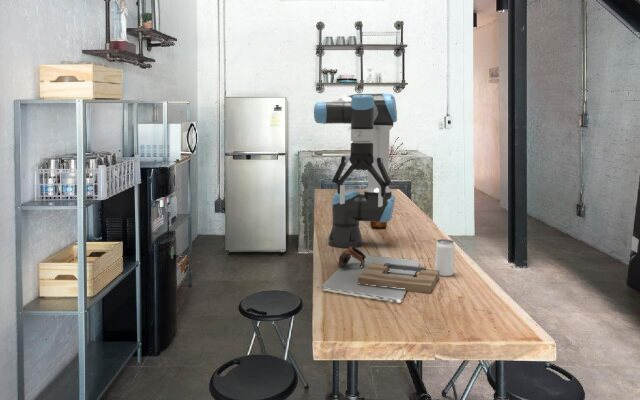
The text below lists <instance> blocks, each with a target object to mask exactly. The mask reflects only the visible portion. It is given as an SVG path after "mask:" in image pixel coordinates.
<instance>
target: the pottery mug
mask: <svg viewBox="0 0 640 400" xmlns="http://www.w3.org/2000/svg"><path fill="white" fill-rule="evenodd" d="M351 258H354V259H355V260H357V261H359V262H360V264H359V268H360V267H361V266H363V267H364V265H365V263H366V260H365V259H366V258H367V257H366V255H365V253H364V252H362V251H361V250H360V249H358V248H357V247H349V248H346V249H344V250H343V251H342V253H341V254H340V256H339V257H338V263H337V266H338V267H339V268H341V267H343V268H344V267H345V268H346V267H347V266H348V263H349V262H350V260H351Z"/></svg>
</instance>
